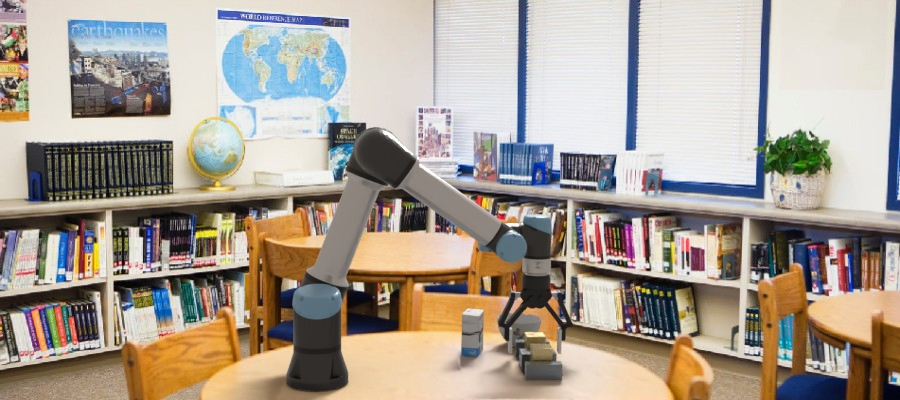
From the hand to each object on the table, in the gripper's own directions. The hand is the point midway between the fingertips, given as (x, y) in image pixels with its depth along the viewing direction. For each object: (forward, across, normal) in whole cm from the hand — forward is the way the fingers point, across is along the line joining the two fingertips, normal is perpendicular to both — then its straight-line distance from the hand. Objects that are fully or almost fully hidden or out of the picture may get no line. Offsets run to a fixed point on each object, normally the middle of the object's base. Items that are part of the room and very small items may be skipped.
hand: (534, 352), depth 264 cm
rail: (+3, 0, -6) cm, 7 cm away
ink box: (+3, -16, +8) cm, 18 cm away
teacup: (+3, -2, +19) cm, 19 cm away
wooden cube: (+2, 0, -12) cm, 12 cm away
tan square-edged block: (+2, 0, 0) cm, 2 cm away
